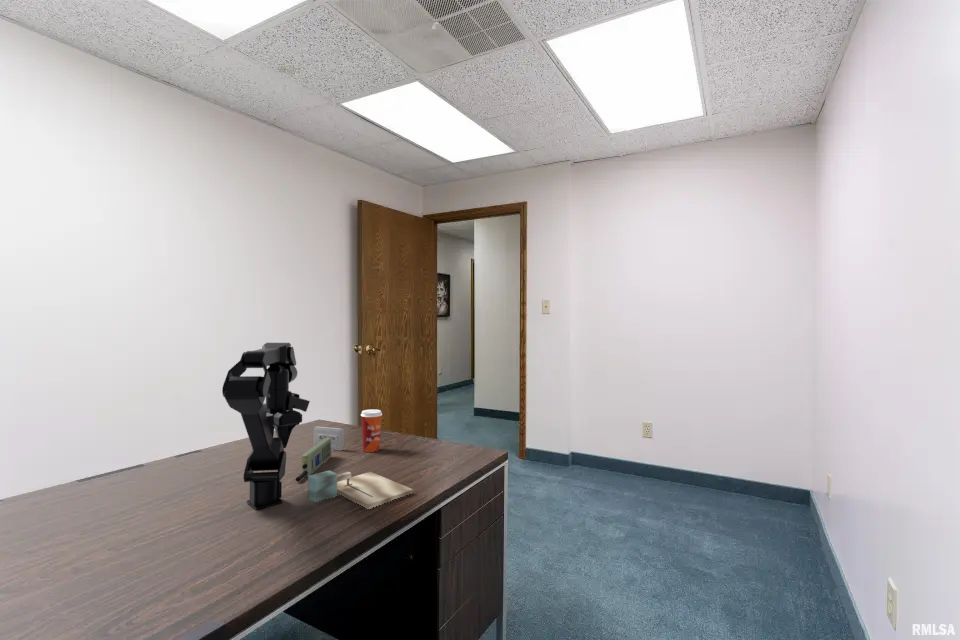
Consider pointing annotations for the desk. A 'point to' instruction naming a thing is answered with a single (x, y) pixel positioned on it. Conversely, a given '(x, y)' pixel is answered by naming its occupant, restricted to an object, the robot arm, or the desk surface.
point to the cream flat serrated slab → (371, 490)
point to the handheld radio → (315, 458)
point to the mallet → (325, 485)
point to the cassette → (335, 434)
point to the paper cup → (371, 429)
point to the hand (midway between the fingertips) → (276, 444)
